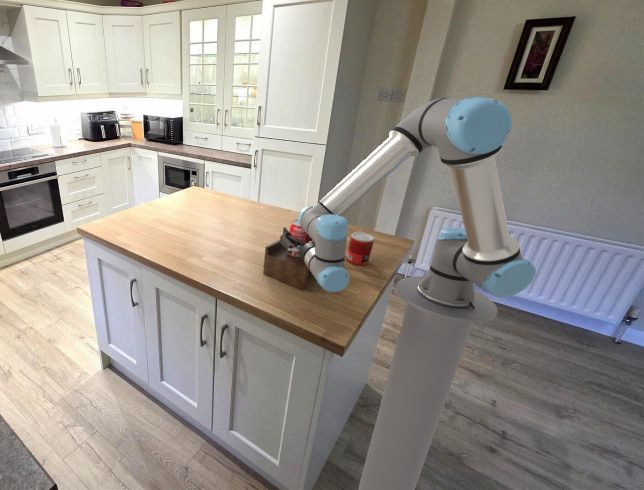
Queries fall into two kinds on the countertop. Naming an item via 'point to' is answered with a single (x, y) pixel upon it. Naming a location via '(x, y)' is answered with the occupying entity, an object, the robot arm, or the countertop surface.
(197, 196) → the countertop surface
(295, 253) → the soda can
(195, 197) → the countertop surface
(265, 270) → the shelf
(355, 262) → the canned food
